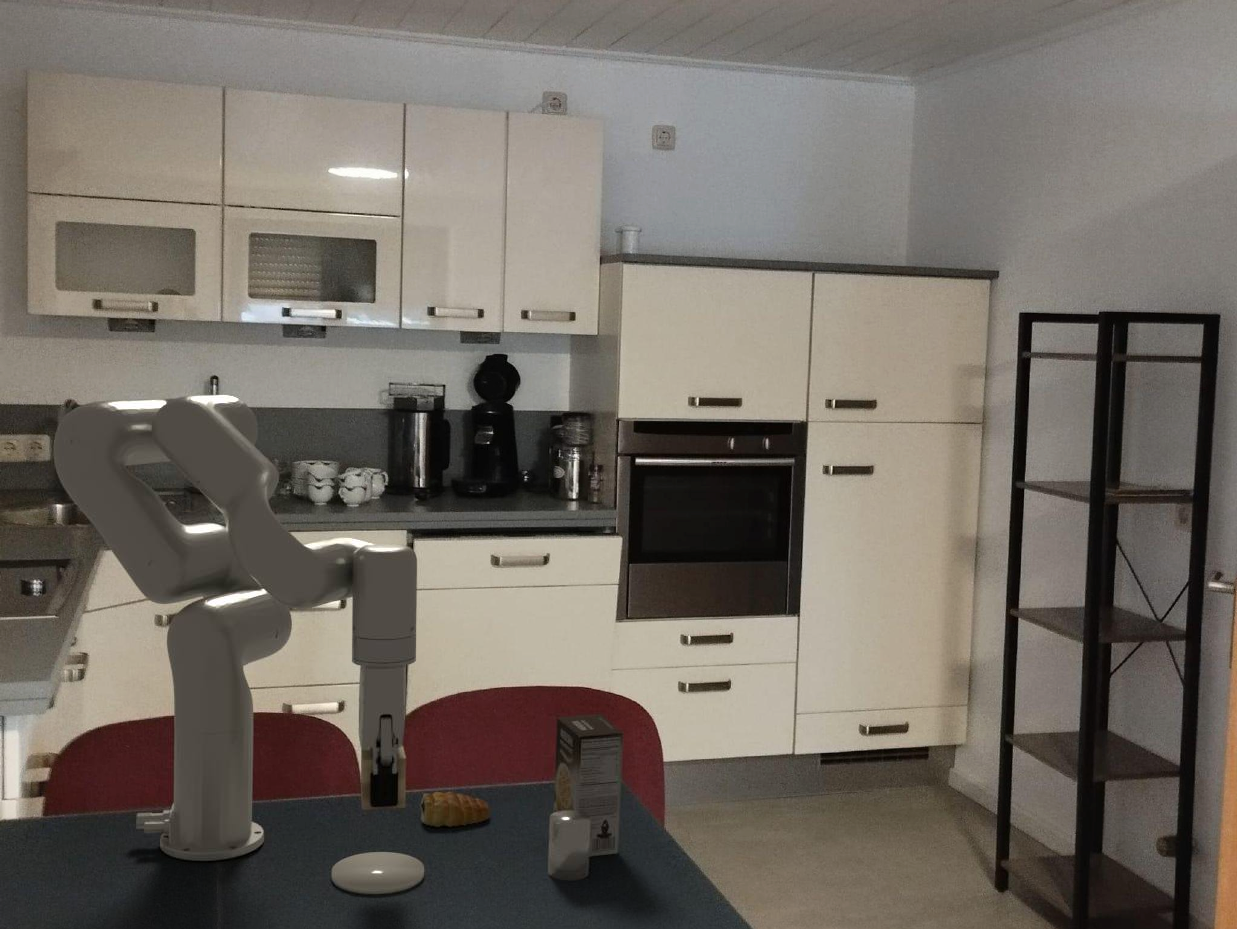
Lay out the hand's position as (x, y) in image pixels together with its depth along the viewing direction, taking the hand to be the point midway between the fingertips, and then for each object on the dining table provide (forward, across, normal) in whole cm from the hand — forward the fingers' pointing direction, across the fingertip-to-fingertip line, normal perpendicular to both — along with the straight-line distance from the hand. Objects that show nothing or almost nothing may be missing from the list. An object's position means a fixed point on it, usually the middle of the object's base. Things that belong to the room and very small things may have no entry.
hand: (382, 796), depth 161 cm
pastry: (+10, -19, +10) cm, 24 cm away
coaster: (+10, 0, 0) cm, 10 cm away
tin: (+10, +2, +23) cm, 25 cm away
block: (+1, 0, 0) cm, 1 cm away
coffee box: (+10, -7, +27) cm, 29 cm away
